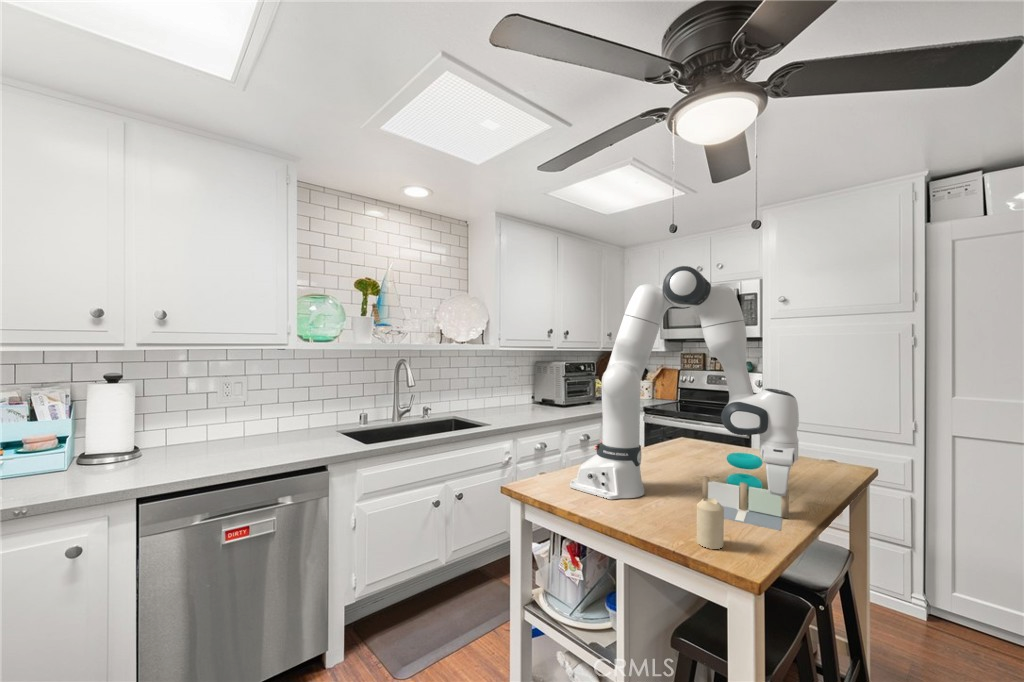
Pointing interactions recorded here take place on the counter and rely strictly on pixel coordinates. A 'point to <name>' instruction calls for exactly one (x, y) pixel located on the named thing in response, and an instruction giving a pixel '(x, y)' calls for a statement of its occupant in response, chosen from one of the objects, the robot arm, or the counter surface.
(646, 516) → the counter surface
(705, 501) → the candle
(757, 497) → the fence panel
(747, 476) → the donuts
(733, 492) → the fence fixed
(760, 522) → the board
